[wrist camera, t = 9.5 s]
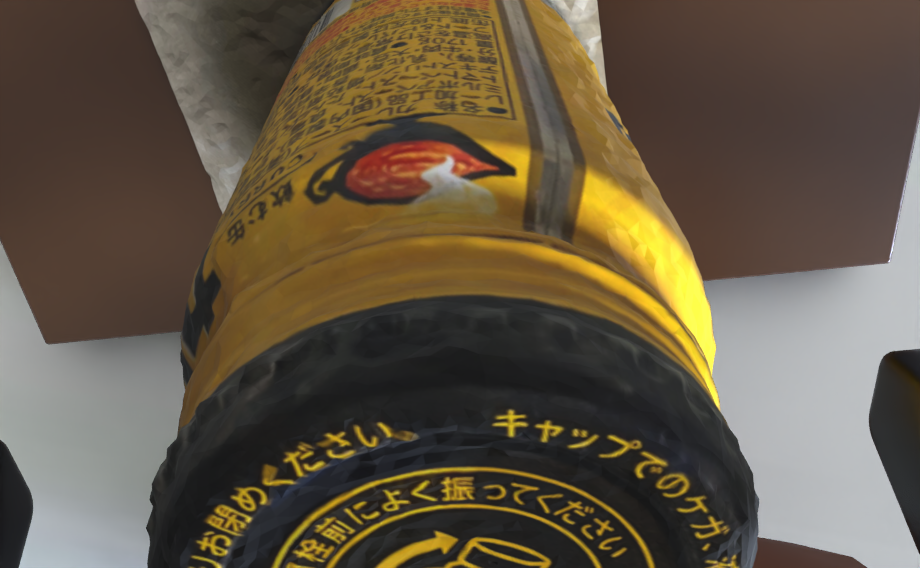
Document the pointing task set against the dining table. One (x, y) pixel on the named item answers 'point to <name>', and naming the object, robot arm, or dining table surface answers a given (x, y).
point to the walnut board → (628, 86)
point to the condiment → (434, 303)
